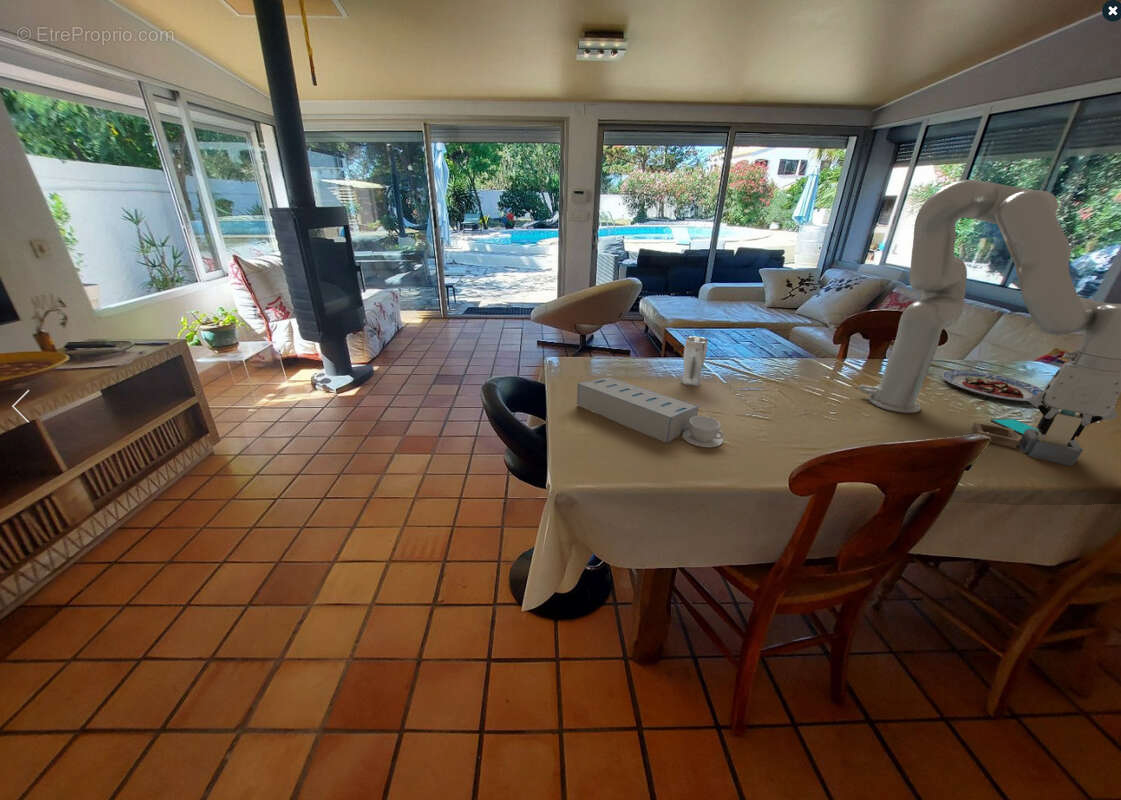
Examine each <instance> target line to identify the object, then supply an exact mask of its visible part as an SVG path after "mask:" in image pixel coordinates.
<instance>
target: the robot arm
mask: <svg viewBox="0 0 1121 800" xmlns="http://www.w3.org/2000/svg"><path fill="white" fill-rule="evenodd" d="M1058 207H1059V203H1058V199H1057V198H1056V196H1055V195H1054V194H1053V193H1051V192H1048V191H1046V190H1039V189H1038V190H1037V189H1036V190H1035V189H1031V188H1023V187H1018V186H1012V185H1007V184H1001V183H996V182H989V181H983V180H977V179H963V180H958V181H954V182H952V183H949V184H947V185H945V186H943V187H942V188H940V189H939V190H937V191H935V192H934V193H932V194H931V195H930V196H929V197H928V198H927V199H926V200H925V201H924V203H923V204H922V205H921V207H920V208H919V211H918V212H917V215H916V217H915V221H914V229H913V230H914V231H913V241H912V250H911V258H910V260H911V261H910V271H909V285H910V287H911V288H912V289H913V290H914V291H915V292H918V293H921V298H920V299H918V300H916V301H914V302H912V303H911V304H909V305H908V306H906V308H905V309H904V310H903V312H902V314H901V316H900V318H899V322H898V328H897V332H896V337H895V340H894V343H893V346H892V347H891V348H892V349H891V352H890V354H889V358H888V360H887V363H886V367H885V370H883V375H882V377H881V380H880V383H878V384H876V385H872V386H871V385H867V384H862V383H861V384H860V386H859V388H858V391H862V392H863V393H864V394H868V395H869V396H868V401H869V402H870V403H871V404H872V405H875V406H876V407H878V408H880V409H885V410H887V411H891V412H896V413H901V414H903V413H904V414H914V413H918V412H920V410H921V408H922V405H920V403H919V402H917V399H918V397H919V395H920V393H921V390H922V388H923V385H924V383H925V380H926V378H927V375H928V373H929V370H930V367H931V365H932V362H933V360H934V357H935V354H936V352H937V350H938V346H939V342H940V339H941V334H942V331H943V330H945V329H947V328H949V327H951V326H953V325H955V324H956V323H957V322H958V321H959V320H960V318H961V317H962V315H963V312H964V304H965V297H966V289H967V288H966V287H967V278H968V269H967V266H966V264H965V262H964V261H963V260H962V258H960V257H958V256H956V255H955V245H956V240H957V239H956V238H957V234H956V233H957V232H956V224H957V221H958V220H959V219H971V220H972V219H973V220H977V221H981V222H985V223H990V224H994V225H997V226H998V229H999V231H1000V233H1001V234H1000V235H1001V236H1002V238H1003V240H1004V242H1005V244H1006V245H1005V246H1006V247H1007V250H1008V252H1009V254H1010V257H1011V259H1012V261H1013V263H1014V266H1015V270H1016V273H1015V274H1016V277H1017V280H1018V283H1019V284H1018V285H1019V289H1020V293H1021V296H1022V299H1023V301H1024V304H1025V307H1026V308H1027V311H1028V313H1029V316H1030V317H1031V320H1032V323H1033V324H1034V325H1035V327H1036V328H1037V329H1039V331H1041V332H1043V333H1044V334H1048V335H1052V336H1063V335H1069V334H1072V333H1075V332H1084V335H1083V337H1082V339H1081V340H1080V342H1079V344H1078V346H1077V348H1076V349H1075V350H1074V351H1072V352H1064V353H1063V355H1062V358H1063V359H1067V360H1068V361H1069V362H1064V363H1063V364H1062V366H1061V367H1059V369H1058V370H1057V371H1056V372H1055V373H1054V374H1053V376H1052V377H1051V379H1050V380H1049V382H1048V383H1047V384H1046V387H1045V388H1044V389H1043V390H1044V391H1043V392H1041V393H1039V394H1037V395H1035V396H1033V397H1032V398H1030V399H1029V401H1028V402H1029V403H1030V404H1031V405H1032V406H1033V407H1035V408H1037V409H1038V410H1039V412H1040V413H1041V414H1042V416H1041V418H1040V420H1039V422H1038V424H1037V426H1036V429H1038V430H1039V431H1040V433H1041V434H1043V435H1045V434H1046V432H1047V431H1048V429H1049V427H1050V425H1051V423H1052V422H1053V416H1054V415H1055V414H1056V413H1057V412H1058V411H1059V409H1061V410H1067V411H1072V412H1077V413H1078V414H1079V415H1080V416H1081V417H1082V418H1083V420H1082V422H1081V423H1080V425H1079V427H1078V428H1077V430H1076V431H1075V433H1074V435H1073V436H1072V438H1071V440H1072V441H1073V440H1076V439H1075V438H1078V437H1079V436H1080V435H1081V433H1082V432H1083V431H1084V429H1085V427H1089V426H1090V425H1091V424H1096V423H1099V422H1101V421H1107V420H1114V419H1116V418H1118V414H1117V412H1116V409H1115V405H1116V403H1117V401H1118V399H1119V397H1120V395H1121V303H1109V302H1104V301H1099V300H1095V299H1091V298H1086V297H1080V296H1079V295H1078V293H1077V291H1076V289H1075V286H1074V283H1073V281H1072V278H1071V277H1072V276H1071V273H1070V259H1071V255H1072V251H1071V245H1070V243H1069V241H1068V239H1067V237H1066V234H1065V232H1064V231H1063V228H1062V226H1061V223H1060V222H1059V219H1058V216H1057V214H1056V213H1057V211H1058ZM1042 400H1044V401H1043V403H1044V404H1043V403H1042Z"/></svg>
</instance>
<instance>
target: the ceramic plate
mask: <svg viewBox="0 0 1121 800" xmlns="http://www.w3.org/2000/svg"><path fill="white" fill-rule="evenodd" d="M941 377H942V379H944V380H945V381H946V382H948V383H949V384H952V385H954V386H956V387H959V388H962V389H964V390H966V391H968V392H971V393H974V394H976V393H977V395H980V396H985V397H988V398H994V399H998V400H1006V401H1021V402H1029V399H1030V398H1032V397H1033V396H1035V395H1037V394H1039V393H1041V392H1043V391H1044V389H1043V388H1041V387H1038V386H1036V385H1034V384H1031V383H1028V382H1026V381H1021V380H1019V379H1015V378H1013V377H1012V378H1010V377H1007V376H1003V375H999V374H995V373H994V374H993V373H987V372H982V371H974V370H960V369H959V370H947V371H944V372H943V373H941ZM1042 401H1043V402H1044V400H1042ZM1042 401H1041V402H1042Z"/></svg>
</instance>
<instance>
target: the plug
mask: <svg viewBox="0 0 1121 800" xmlns="http://www.w3.org/2000/svg"><path fill="white" fill-rule="evenodd" d="M1082 420H1083V418H1082V417H1081V416H1080V415H1079V413H1077V412H1072V411H1067V410H1061V409H1059V411H1058V412H1057V413H1056V414H1055V415H1054V416H1053V422H1052V423H1051V425H1050V427H1049V429H1048V431H1047V432H1046V434H1045V435H1043V434H1041V433H1040V432H1039V434H1038V435H1037V437H1038V438H1039V440H1041V441H1045V442H1050V443H1055V444H1059V445H1064V446H1067V445H1068V443H1069V441H1070V440H1071V438H1072V436H1073V435H1074V433H1075V431H1076V430H1077V428H1078V427H1079V425H1080V423H1081V422H1082Z"/></svg>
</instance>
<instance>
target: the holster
mask: <svg viewBox="0 0 1121 800" xmlns="http://www.w3.org/2000/svg"><path fill="white" fill-rule="evenodd" d="M971 431H972V433H973V435H974V434H981V435H985V436H988V437H990V438H991V441H992V442H994V443H992V442H990V443H992V444H996V445H1001V446H1005V447H1010V448H1013V449H1014V448H1015V449H1016V448H1017V446H1018V445H1019V444H1018V443H1019V441H1020V439H1019V438H1018V435H1017V433H1015V432H1014V430H1013V429H1009V428H1004V427H1002V426H999V425H996V424H995V425H993V424H990V423H985V422H980V421H975V420H974V422H973V423H972V425H971ZM987 432H989V433H987Z"/></svg>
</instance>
